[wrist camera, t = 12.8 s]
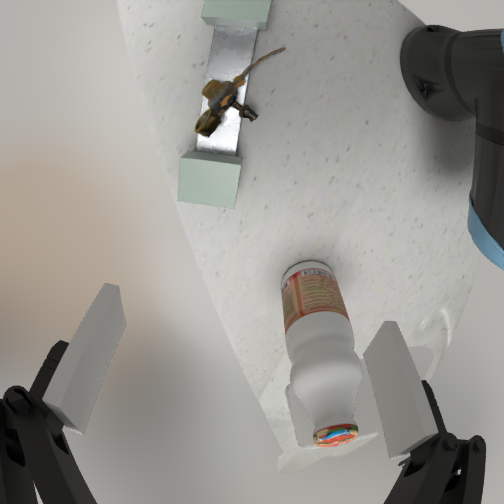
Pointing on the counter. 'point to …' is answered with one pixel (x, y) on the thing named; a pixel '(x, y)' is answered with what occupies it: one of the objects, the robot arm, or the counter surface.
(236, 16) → the mounted modules
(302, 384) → the fruit juice
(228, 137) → the rail
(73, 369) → the robot arm
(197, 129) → the regulator
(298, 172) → the counter surface
